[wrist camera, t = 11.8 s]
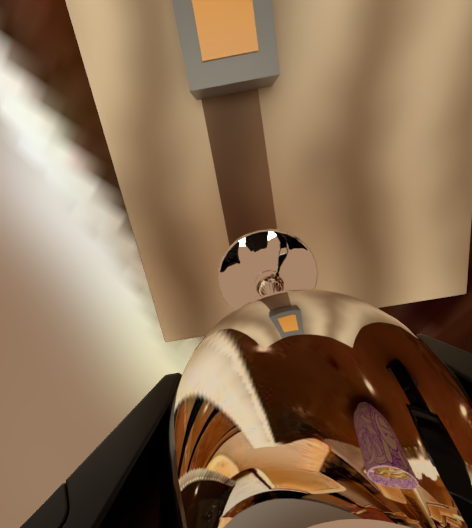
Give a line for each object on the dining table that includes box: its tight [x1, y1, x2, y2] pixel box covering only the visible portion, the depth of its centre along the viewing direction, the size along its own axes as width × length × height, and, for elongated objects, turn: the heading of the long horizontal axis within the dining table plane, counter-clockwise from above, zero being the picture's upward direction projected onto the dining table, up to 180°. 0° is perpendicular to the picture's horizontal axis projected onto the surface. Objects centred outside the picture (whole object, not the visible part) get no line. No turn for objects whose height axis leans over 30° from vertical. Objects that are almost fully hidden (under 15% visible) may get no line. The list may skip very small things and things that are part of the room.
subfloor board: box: [65, 0, 472, 342], centre depth 18 cm, size 20×23×1 cm
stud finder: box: [172, 0, 280, 100], centre depth 15 cm, size 4×6×3 cm, turn 10°
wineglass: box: [158, 229, 472, 528], centre depth 9 cm, size 6×6×12 cm
